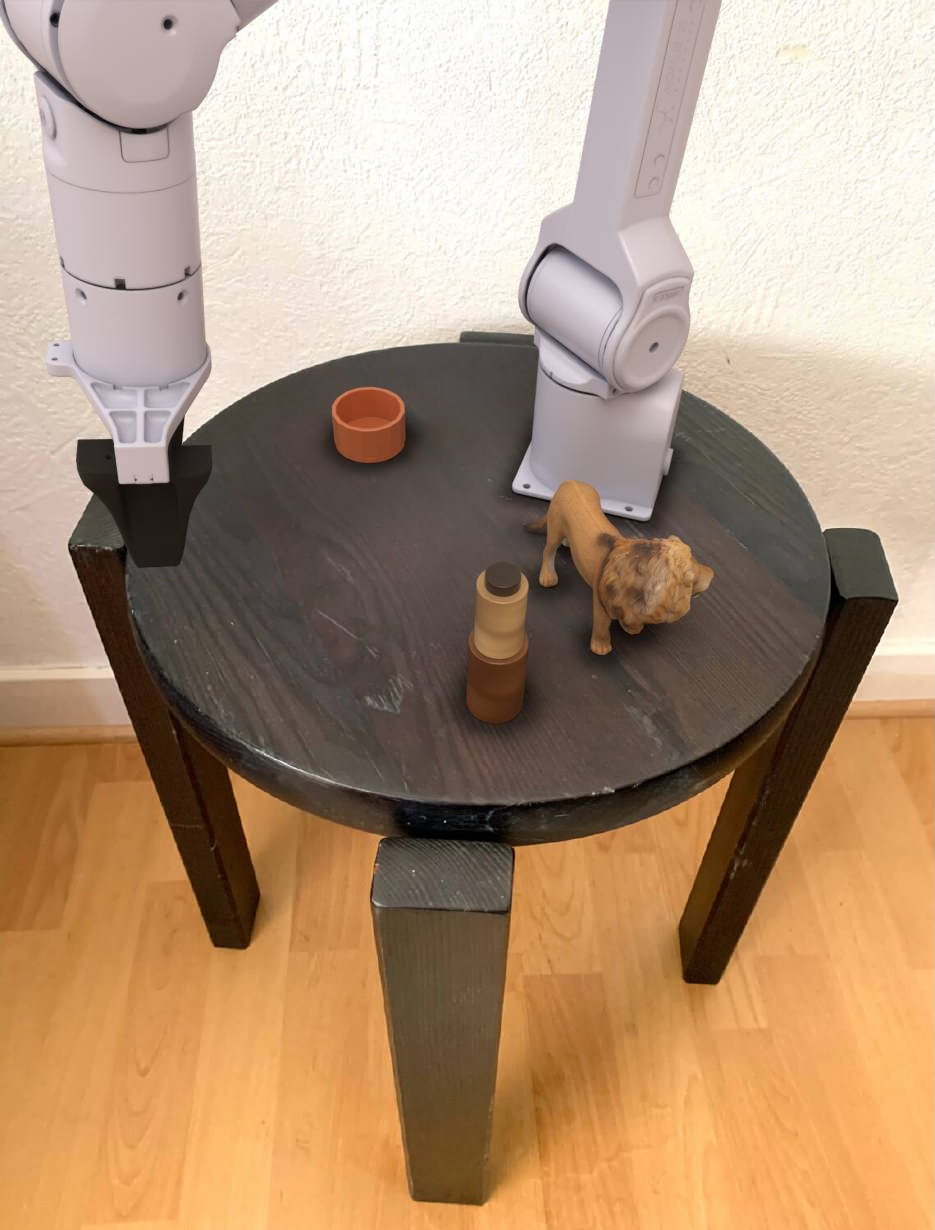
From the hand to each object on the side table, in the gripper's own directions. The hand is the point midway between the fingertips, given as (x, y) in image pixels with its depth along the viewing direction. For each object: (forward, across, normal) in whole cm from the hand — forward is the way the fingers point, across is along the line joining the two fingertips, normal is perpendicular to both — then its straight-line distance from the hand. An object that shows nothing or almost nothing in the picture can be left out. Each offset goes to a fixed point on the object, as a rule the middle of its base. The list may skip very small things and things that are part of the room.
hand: (157, 512), depth 53 cm
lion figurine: (+8, +1, +26) cm, 27 cm away
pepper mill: (+4, +7, +17) cm, 19 cm away
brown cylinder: (+9, +7, +18) cm, 21 cm away
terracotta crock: (+8, -18, +14) cm, 24 cm away
